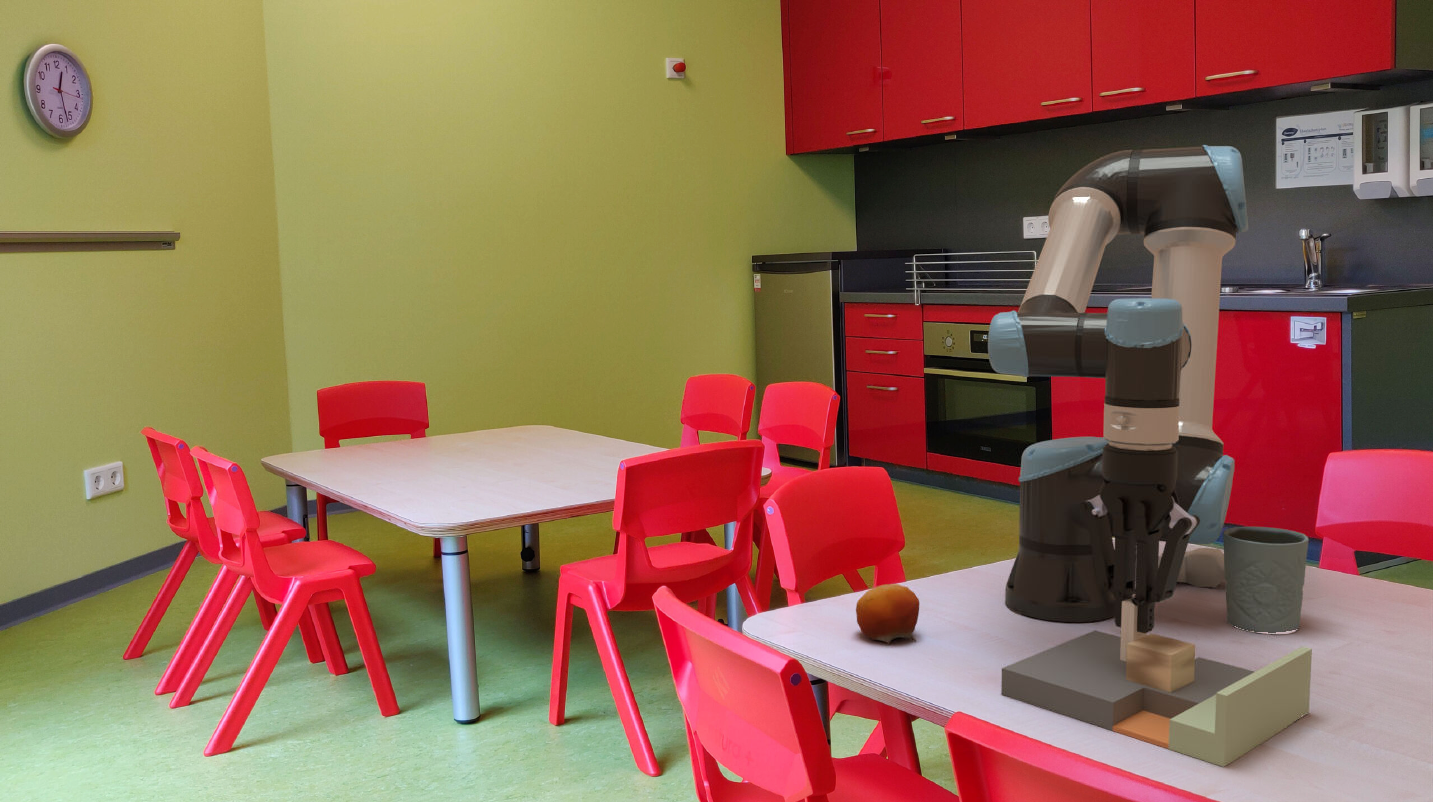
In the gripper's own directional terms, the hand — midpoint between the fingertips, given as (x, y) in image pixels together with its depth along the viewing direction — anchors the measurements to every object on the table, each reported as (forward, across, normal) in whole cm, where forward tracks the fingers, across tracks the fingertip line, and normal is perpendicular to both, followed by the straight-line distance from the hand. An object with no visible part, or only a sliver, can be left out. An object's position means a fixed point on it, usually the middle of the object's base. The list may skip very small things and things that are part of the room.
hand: (1133, 658), depth 125 cm
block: (+2, +3, 0) cm, 4 cm away
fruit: (+5, -32, -4) cm, 32 cm away
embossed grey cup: (+5, -2, +36) cm, 36 cm away
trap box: (+5, +2, 0) cm, 5 cm away
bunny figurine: (+5, -17, +48) cm, 51 cm away
